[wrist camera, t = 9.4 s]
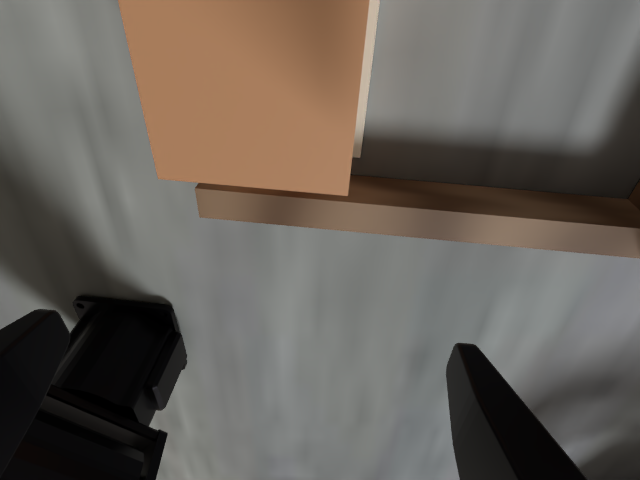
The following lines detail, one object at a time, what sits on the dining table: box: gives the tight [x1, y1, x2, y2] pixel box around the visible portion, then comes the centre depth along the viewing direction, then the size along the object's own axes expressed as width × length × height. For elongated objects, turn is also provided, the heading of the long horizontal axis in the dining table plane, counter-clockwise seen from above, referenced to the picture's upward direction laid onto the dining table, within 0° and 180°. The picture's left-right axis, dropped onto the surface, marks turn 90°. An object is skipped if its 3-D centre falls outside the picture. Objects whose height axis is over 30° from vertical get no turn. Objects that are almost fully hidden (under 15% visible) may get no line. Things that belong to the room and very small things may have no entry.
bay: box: [195, 0, 640, 258], centre depth 13 cm, size 21×16×4 cm
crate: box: [118, 0, 370, 196], centre depth 12 cm, size 6×8×6 cm
